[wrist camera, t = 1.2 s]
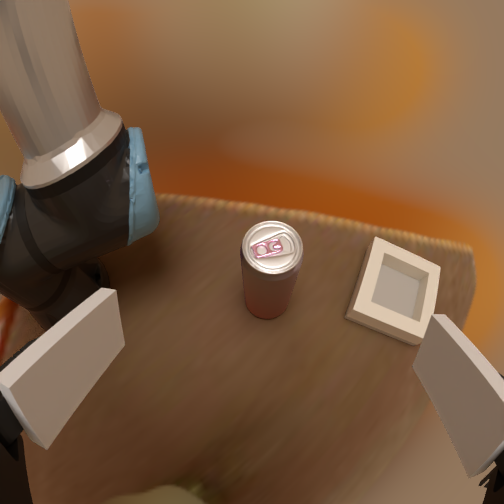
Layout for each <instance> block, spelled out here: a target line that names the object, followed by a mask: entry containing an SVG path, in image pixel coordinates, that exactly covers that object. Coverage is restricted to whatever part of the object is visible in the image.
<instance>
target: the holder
mask: <svg viewBox="0 0 504 504" xmlns="http://www.w3.org/2000/svg"><path fill="white" fill-rule="evenodd" d="M440 268H441V267H439V266H437V265H435V264H433V263H431V262H429V261H427V260H425V259H423V258H421V257H419V256H417V255H415V254H413V253H411V252H408V251H406V250H404V249H402V248H400V247H398V246H395V245H393V244H391V243H389V242H387V241H384V240H382V239H380V238H378V237H374V239H373V240H372V242H371V244H370V245H369V247H368V248H367V250H366V253H365V257H364V260H363V263H362V266H361V270H360V273H359V276H358V279H357V282H356V285H355V288H354V291H353V294H352V297H351V300H350V303H349V306H348V309H347V311H346V314H345V317H344V318H346V319H348V320H351V321H353V322H355V323H358V324H360V325H363V326H365V327H368V328H370V329H372V330H375V331H377V332H380V333H382V334H385V335H387V336H390V337H392V338H395V339H397V340H400V341H402V342H405V343H407V344H410V345H412V346H415V345H418V344H420V343H422V340H423V338H424V335H425V332H426V329H427V326H428V323H429V320H430V317H431V314H433V313H434V308H435V302H436V296H437V290H438V283H439V276H440Z"/></svg>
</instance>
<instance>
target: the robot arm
mask: <svg viewBox="0 0 504 504" xmlns="http://www.w3.org/2000/svg"><path fill="white" fill-rule="evenodd" d="M0 110H1V113H2V115H3V117H4V119H5V121H6V123H7V125H8V127H9V129H10V131H11V133H12V135H13V137H14V139H15V141H16V143H17V145H18V146H19V148H20V150H21V152H22V154H23V156H24V163H23V167H22V171H21V182H22V183H21V184H19V185H16V183H15V180H14V179H13V178H10V177H9V176H5V175H1V176H0V294H2V295H3V296H5V297H7V298H8V299H10V300H12V301H13V302H15V303H17V304H19V305H20V306H22V307H24V308H26V309H28V310H29V312H30V313H31V314H32V316H33V317H34V318H35V319H36V320H37V322H38V323H39V324H40V325H41V327H42V328H43V329H45V330H46V331H47V332H45V333H44V334H43V335H42V336H41V337H38V338H36V339H34V340H32V341H30V342H28V343H27V344H26V345H24V346H23V347H22V348H21V349H20V351H17V352H16V353H15V354H14V355H13V357H11V358H9V359H8V360H7V361H6V362H5V363H4V364H3V365H2V366H1V367H0V504H33V502H32V497H31V493H30V488H29V482H28V476H27V470H26V463H25V455H24V445H23V439H22V436H21V435H20V433H21V432H22V431H23V429H24V431H25V432H26V434H27V435H28V437H29V438H30V440H31V441H33V442H34V443H36V444H38V445H39V446H41V447H43V448H44V449H46V450H48V448H49V447H50V445H51V444H52V442H53V441H54V439H55V438H56V437H57V435H58V434H59V432H60V431H61V430H62V428H63V427H64V425H65V424H66V423H67V421H68V420H69V418H70V417H71V416H72V414H73V413H74V411H75V410H76V409H77V407H78V406H79V405H80V403H81V402H82V401H83V399H84V398H85V397H86V395H87V394H88V392H89V391H90V390H91V388H92V387H93V386H94V384H95V383H96V382H97V381H98V379H99V378H100V377H101V375H102V374H103V373H104V371H105V370H106V369H107V367H108V366H109V365H110V364H111V362H112V361H113V360H114V358H115V357H116V356H117V355H118V353H119V352H120V351H121V349H122V348H123V347H124V346H125V341H124V336H123V331H122V325H121V319H120V312H119V306H118V299H117V291H116V290H114V289H109V278H108V274H107V271H106V269H105V267H104V265H103V264H102V263H101V261H100V260H99V259H98V258H97V257H99V256H101V255H104V254H106V253H109V252H111V251H114V250H116V249H119V248H121V247H124V246H126V245H127V246H128V245H131V244H132V242H134V241H136V240H138V239H140V238H142V237H144V236H146V235H148V234H151V233H152V232H153V231H154V230H155V229H156V228H157V226H158V224H159V220H160V216H159V211H158V206H157V202H156V197H155V193H154V189H153V184H152V180H151V175H150V171H149V166H148V161H147V156H146V150H145V145H144V140H143V135H142V130H141V129H140V128H138V127H136V128H132V127H131V128H128V129H127V130H126V129H125V127H124V124H123V121H122V119H121V117H120V116H119V114H117V113H114V112H111V111H108V110H105V109H102V108H101V107H100V105H99V102H98V99H97V97H96V94H95V91H94V88H93V85H92V82H91V79H90V76H89V73H88V70H87V67H86V64H85V61H84V57H83V54H82V51H81V47H80V44H79V40H78V37H77V33H76V30H75V26H74V22H73V18H72V14H71V10H70V6H69V2H68V0H0ZM412 367H413V369H414V371H415V373H416V374H417V376H418V378H419V380H420V381H421V383H422V385H423V387H424V389H425V390H426V392H427V394H428V396H429V398H430V399H431V401H432V403H433V405H434V407H435V409H436V411H437V413H438V414H439V416H440V418H441V420H442V422H443V424H444V426H445V428H446V430H447V432H448V434H449V436H450V438H451V441H452V443H453V445H454V446H455V449H456V451H457V453H458V455H459V458H460V460H461V462H462V464H463V466H464V468H465V471H466V473H467V476H468V478H470V477H473V476H475V475H478V474H480V473H482V472H484V471H485V470H486V469H487V468H488V467H489V466H490V465H491V464H492V463H493V461H495V463H496V465H497V466H496V467H495V468H494V469H493V470H492V471H491V472H490V473H489V474H488V475H487V476H486V477H485V478H484V479H483V480H482V481H481V482H480V484H479V486H481V485H483V484H484V483H485V482H486V481H487V480H488V479H489V482H488V483H487V484H486V485H485V486H484V487H486V488H487V491H486V494H485V498H484V501H483V504H504V377H503V376H502V375H501V374H499V373H498V372H497V371H496V370H495V369H494V368H493V366H492V365H491V364H490V363H489V362H488V361H487V360H486V358H485V357H484V356H483V355H482V354H481V353H480V351H479V350H478V349H477V348H476V347H475V346H474V345H473V344H472V343H471V342H470V340H469V339H468V338H467V337H466V336H465V335H464V334H463V333H462V332H461V331H460V330H459V329H458V328H457V326H456V325H455V324H454V323H453V322H452V321H451V320H450V319H449V318H448V317H447V316H446V315H445V314H431V317H430V320H429V323H428V326H427V329H426V332H425V335H424V338H423V340H422V343H421V346H420V348H419V351H418V353H417V356H416V358H415V361H414V363H413V366H412Z"/></svg>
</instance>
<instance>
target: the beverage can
mask: <svg viewBox="0 0 504 504" xmlns="http://www.w3.org/2000/svg"><path fill="white" fill-rule="evenodd" d="M240 256H241V266H242V276H243V286H244V295H245V303H246V306H247V308H248V309H249V311H250V312H251V313H252V314H254V315H255V316H257V317H259V318H263V319H271V318H275V317H277V316H279V315H281V314H282V313H283V312H284V311H285V309H286V308H287V306H288V303H289V300H290V297H291V294H292V291H293V288H294V285H295V282H296V279H297V276H298V273H299V270H300V267H301V264H302V261H303V244H302V240H301V238H300V236H299V234H298V233H297V232H296V231H295V230H294V229H293V228H292V227H291V226H289V225H287V224H285V223H283V222H279V221H264V222H261V223H258V224H256V225H254V226H253V227H252V228H250V229H249V230H248V231H247V233H246V234H245V236H244V238H243V241H242V245H241V249H240Z"/></svg>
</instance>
